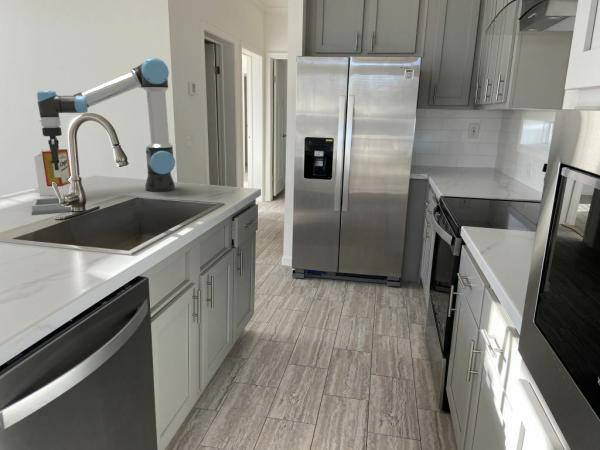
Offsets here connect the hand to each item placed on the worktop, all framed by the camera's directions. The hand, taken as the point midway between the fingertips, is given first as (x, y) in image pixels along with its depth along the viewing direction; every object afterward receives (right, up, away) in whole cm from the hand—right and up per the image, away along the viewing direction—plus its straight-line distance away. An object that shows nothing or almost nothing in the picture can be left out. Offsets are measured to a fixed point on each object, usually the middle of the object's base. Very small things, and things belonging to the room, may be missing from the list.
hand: (58, 175), depth 205 cm
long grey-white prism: (-13, -8, +15) cm, 22 cm away
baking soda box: (0, -4, +1) cm, 4 cm away
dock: (+5, -16, -14) cm, 22 cm away
